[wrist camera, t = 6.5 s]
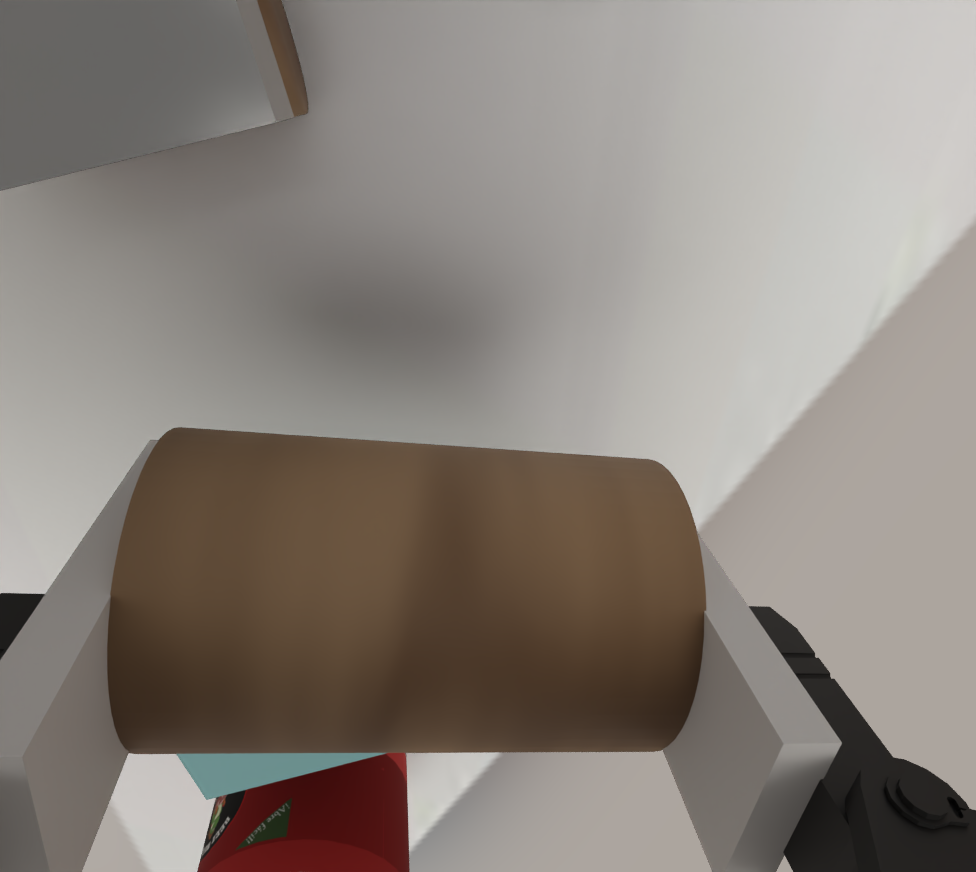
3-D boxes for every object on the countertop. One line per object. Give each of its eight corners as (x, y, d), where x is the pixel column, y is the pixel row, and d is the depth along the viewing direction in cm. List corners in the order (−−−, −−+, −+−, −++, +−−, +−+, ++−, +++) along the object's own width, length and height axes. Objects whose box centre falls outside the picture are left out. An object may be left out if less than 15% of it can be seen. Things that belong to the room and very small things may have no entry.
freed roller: (579, 605, 16) (647, 817, 11) (212, 594, 14) (129, 828, 10) (632, 411, 13) (743, 585, 9) (197, 376, 12) (83, 560, 8)
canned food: (293, 620, 31) (247, 866, 21) (437, 686, 34) (456, 928, 24) (209, 725, 33) (133, 992, 23) (352, 778, 36) (337, 1036, 26)
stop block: (229, 559, 29) (166, 739, 21) (459, 501, 29) (484, 657, 21) (255, 612, 30) (206, 800, 22) (474, 556, 30) (504, 722, 22)
